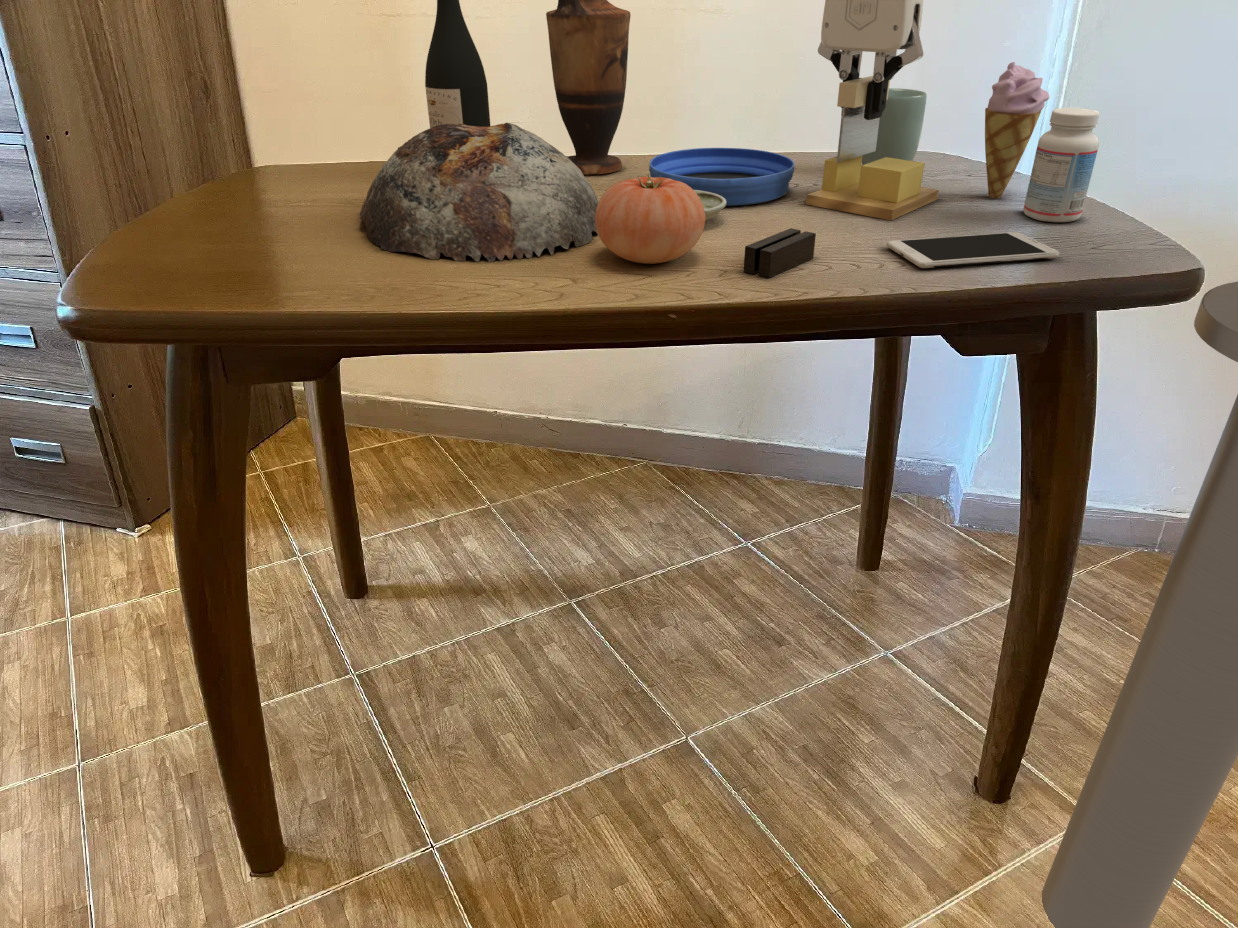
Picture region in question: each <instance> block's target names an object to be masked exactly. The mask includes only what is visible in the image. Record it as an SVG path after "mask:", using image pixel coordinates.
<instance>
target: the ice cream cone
mask: <svg viewBox="0 0 1238 928" xmlns="http://www.w3.org/2000/svg"><path fill="white" fill-rule="evenodd" d="M1043 80H1044V79H1043V77H1036V74H1035V72H1033V71H1032V70H1031V69H1028V68H1025V67H1024V66H1022V65H1019V64H1016V62H1015V61H1012V62H1010V63H1008V64H1007V66H1006V70H1005V71H1004V72H1003V73H1001V74H1000V75H999V77H998V81H997V82H995V83H993V84H992V86H991V90H992V95H991V96H990V98H989V99H988V103H987V107H985V109H984V150H985V153H984V154H985V167H986V180H987V181H986V182H987V192H988V193H987V194H988V198H990V199H1001V198H1002V196H1003V194H1004V193H1005V191H1006V189H1007V186H1008V185H1009V183H1010V181H1011V179H1012V177H1013V175H1014V173H1015V171H1016V169H1017V167H1018V165H1019V163H1020V161H1021V159H1022V157H1023V155H1024V153H1025V150H1026V148H1027V146H1028V145H1029V142H1030V139H1031V138H1032V135H1033V133H1034V130H1035V128H1036V125H1037V123H1038V121H1039V118H1040V115H1041V113H1042V110H1043V109H1044V107H1045V103H1046V102H1047V101H1049V99H1050V94H1049V92H1048V91H1047V90H1045V89H1043V88H1042V84H1043Z"/></svg>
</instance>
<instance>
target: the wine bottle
mask: <svg viewBox="0 0 1238 928" xmlns="http://www.w3.org/2000/svg"><path fill="white" fill-rule="evenodd" d="M424 76H425V77H424V87H425V96H426V105H427V113H428V122H429V129H430V128H432V127H434V126H438V125H443V124H466V125H468V126H478V127H489V126H491V116H490V115H491V113H490V102H489V90H488V89H489V88H488V82H487V76H486V72H485V68H484V64H483V62H482V58H481V56H480V54H479V52H478V49H477V47H476V45H475V42H474V40H473V38H472V35H471V33H470V31H469V28H468V26H467V23H466V21H465V18H464V15H463V11H462V8H461V3H460V0H436V16H435V21H434V26H433V32H432V36H431V39H430V44H429V47H428V51H427V56H426V62H425V73H424Z"/></svg>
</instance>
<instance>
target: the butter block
mask: <svg viewBox="0 0 1238 928" xmlns="http://www.w3.org/2000/svg"><path fill="white" fill-rule="evenodd" d="M925 165H926V163H925V162H921V161H914V160H913V161H909V160H902V159H895V158H888V157H885V158H882V159H879V160H876V161H874V162H871V163H868V164H865V165H863V164H861V171H860V182H859V189H858V196H860V197H866V198H871V199H877V200H883V201H888V202H894V203H898V202H900V201H902V200H905V199H907V198H909V197H912V196H914V195H916V194H919V193H920V189H921V187H922V183H923V177H924V171H925V170H924V169H925Z"/></svg>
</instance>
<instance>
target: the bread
mask: <svg viewBox="0 0 1238 928" xmlns="http://www.w3.org/2000/svg"><path fill="white" fill-rule="evenodd" d="M568 157H569V156H567V155H565V154H564V153H563V151H561V150H559V149H557V148H556V147H555V146H554V145H552V144H550V143H549V142H548V141H546V140H544V139H543V138H542V137H540V136H538V135H537V134H536V133H533V132H531V131H529V130H527V129H524V128H522V127H521V126H519V125H517V124H514V123H512V122H504V123H497V124H495V125H490V126H489V127H478V126H468V125H466V124H443V125H438V126H434V127H432V128H430V127H429V128H427V129H425V130H423V131H421V132H419V133H417V134H416V135H414V136H412V137H411V138H410V139H408V140H407V141H405V142H404V143H403V144H402V145H401V146H400V145H399V146H398V147H397V149H396V150H394V151H393V153H392V154H391V156H389V158H388V159H387V160H386V161H385V162H384V163H383V164H382V166H381V168H380V169H379V170H378V173H376V176H375V177H374V179H373V180H372V182H371V185H370V186H369V188H368V191H367V192H366V193H367V194H366V197H365V198H364V201H363V202H362V206H361V208H360V212H359V219H360V221H361V222H362V223H363V224H364V225H365V229H366V236H367V238H369V239H370V241H371V243H373V244H375V245H376V247H378V246H380V249H381V250H384V251H387V252H390V253H393V252H394V253H395V252H401V253H402V252H403V253H408V254H417V255H421V256H423V257H425V258H427V259H430V260H439V259H440V257H441V253H442V255H444V257H446V258H451V259H453V260H454V261H455V262H457V261H459V262H460V261H461V262H466V261H467V260H466V259H467V258H466V257H467V256H469V257H471V258H472V260H473V261H474V262H477V263H478V262H480V260H481V257H482V256H483V257H484V258H485V259H486V260H487V262H488V263H491V262H495V261H496V258H497V259H498V260H499V261H500V262H503V261H504V258H505V257H507V258H508V259H509V261H512V260H513V257H514V255H515V257H516V259H518V260H523V257H524V255H525V257H526V258H527V259H531V258H533V253H535V254H536V256H537V257H539V258H540V257H541V255H542V252H543V251H544V249H547V250H548V252H549V254H550V255H554V253H555V248H556V247H559V246H561V247H562V248H563V249H564V250H565V249H566V250H568V249H569V248H570V245H571V242H574V247H575V248H578V247H582V246H584V245H587V244H590V243H591V242H592V241H593V240H594V238H593V234H592V233H593V232H595V233H596V234H597V236H598V233H597V230H596V225H595V213H596V208H597V205H598V203H599V200H598V197H597V194H596V192H595V190H594V188H593V186H592V185H591V183H590V181H589V180H588V179H587V178H586V176H585V175H583V173H582V172H581V170H580V169H579V168H578V167H577V166H576V165H575V164H574V163H573V162H572V161H571V160H570V159H569V158H568Z"/></svg>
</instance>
